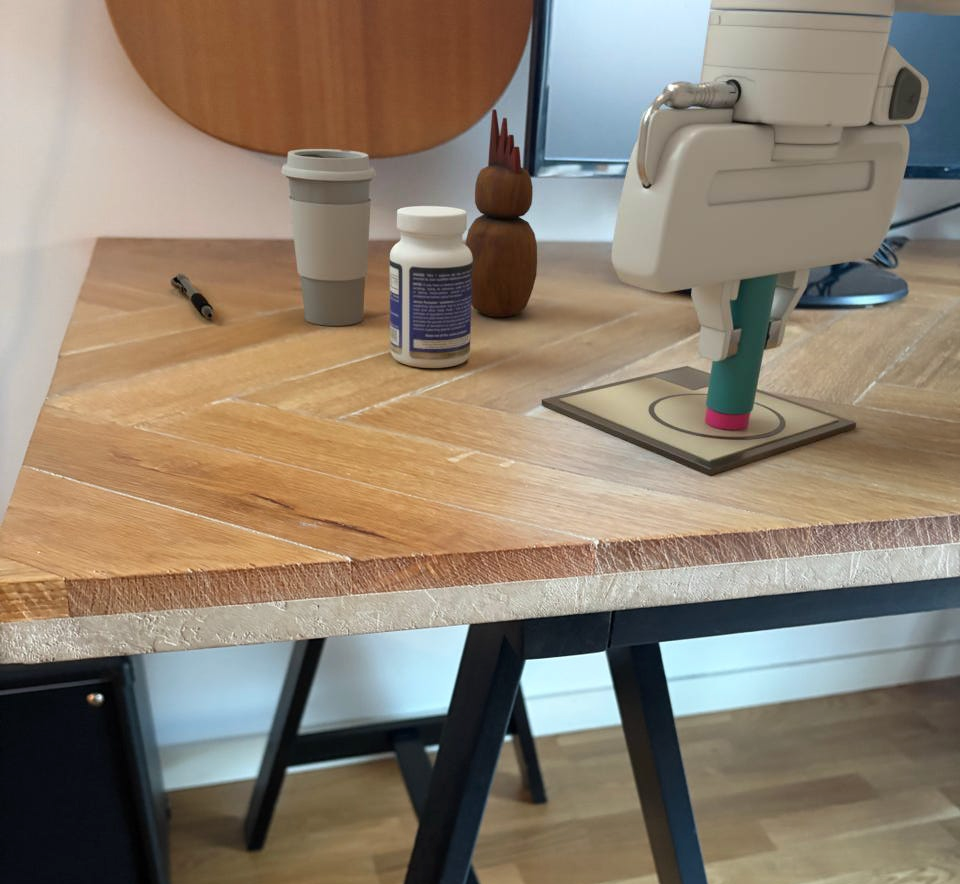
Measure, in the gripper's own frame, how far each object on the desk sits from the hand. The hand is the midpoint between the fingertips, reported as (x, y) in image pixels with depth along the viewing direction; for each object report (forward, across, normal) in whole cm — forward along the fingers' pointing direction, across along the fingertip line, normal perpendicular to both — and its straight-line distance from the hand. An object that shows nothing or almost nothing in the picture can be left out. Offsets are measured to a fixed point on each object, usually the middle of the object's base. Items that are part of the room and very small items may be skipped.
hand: (739, 352), depth 58 cm
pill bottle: (+5, -6, +22) cm, 23 cm away
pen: (+5, -14, +45) cm, 47 cm away
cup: (+5, -6, +35) cm, 36 cm away
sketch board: (+5, +1, +3) cm, 6 cm away
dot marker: (+4, 0, 0) cm, 4 cm away
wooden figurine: (+5, +7, +30) cm, 31 cm away
